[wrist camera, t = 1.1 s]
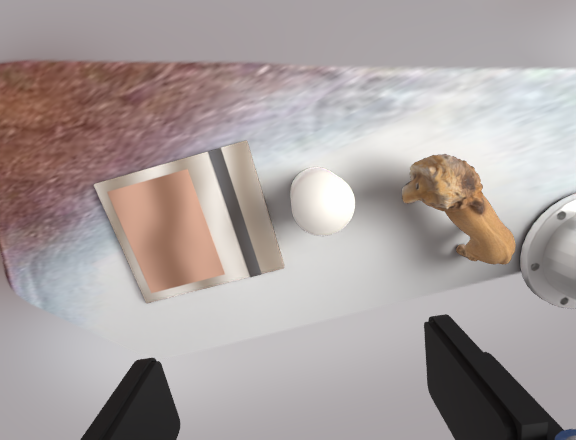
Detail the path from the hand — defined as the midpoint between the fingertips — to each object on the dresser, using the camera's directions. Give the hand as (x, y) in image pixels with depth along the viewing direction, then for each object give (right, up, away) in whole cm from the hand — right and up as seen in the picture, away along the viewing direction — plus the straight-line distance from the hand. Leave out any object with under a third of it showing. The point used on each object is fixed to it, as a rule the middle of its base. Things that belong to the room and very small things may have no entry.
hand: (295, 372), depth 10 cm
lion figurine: (+14, +7, +19) cm, 25 cm away
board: (-10, +5, +19) cm, 22 cm away
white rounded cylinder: (+2, +8, +19) cm, 20 cm away
